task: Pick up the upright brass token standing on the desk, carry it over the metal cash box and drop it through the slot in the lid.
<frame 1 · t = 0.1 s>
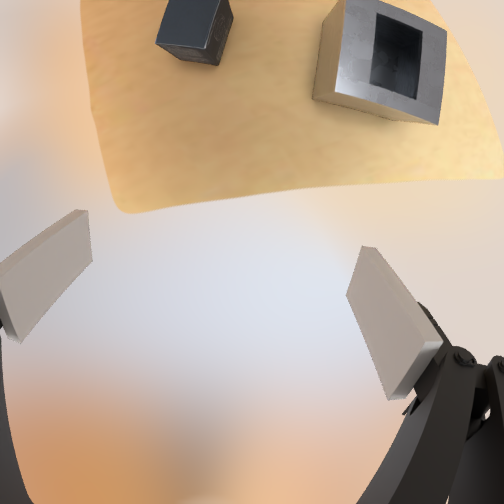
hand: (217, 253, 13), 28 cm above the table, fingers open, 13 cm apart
box: (206, 38, 31), on the table
cashbox: (360, 69, 32), on the table
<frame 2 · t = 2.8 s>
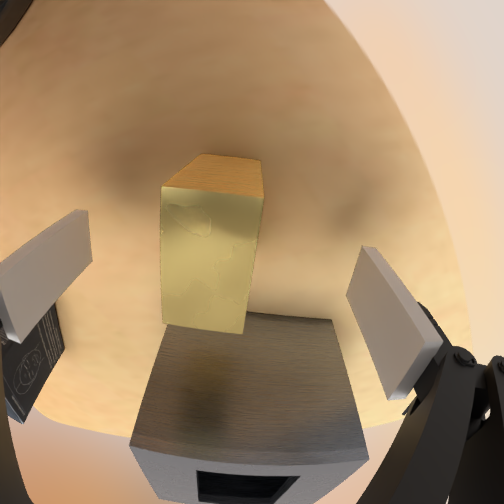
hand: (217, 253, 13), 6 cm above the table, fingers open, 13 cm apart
box: (39, 313, 23), on the table
cashbox: (245, 364, 24), on the table
token: (225, 204, 18), on the table
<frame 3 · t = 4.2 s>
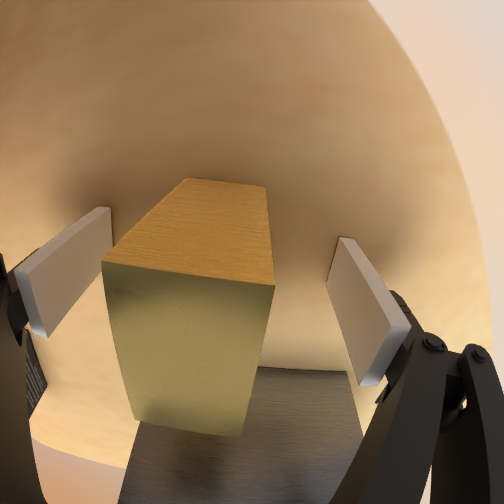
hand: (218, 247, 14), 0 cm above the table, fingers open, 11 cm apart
box: (18, 348, 19), on the table
cashbox: (245, 415, 20), on the table
token: (218, 243, 14), on the table
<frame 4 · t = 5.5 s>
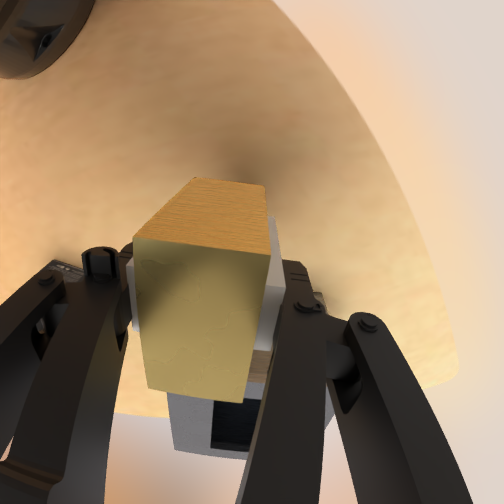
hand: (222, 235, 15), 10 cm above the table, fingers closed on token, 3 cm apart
box: (74, 292, 29), on the table
cashbox: (251, 333, 30), on the table
token: (222, 236, 16), point 10 cm above the table, touching gripper
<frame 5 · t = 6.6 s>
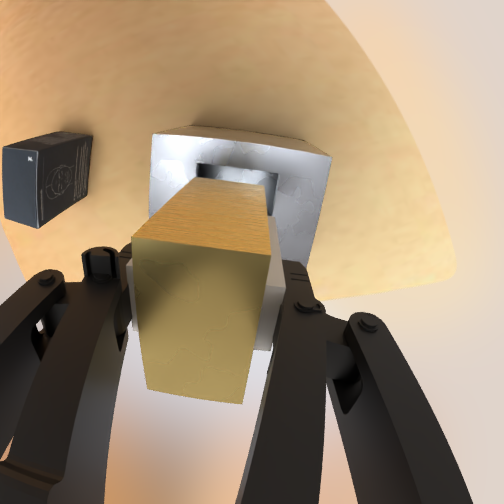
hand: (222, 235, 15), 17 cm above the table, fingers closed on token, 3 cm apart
box: (73, 163, 30), on the table
cashbox: (239, 185, 31), on the table
token: (222, 236, 16), point 17 cm above the table, touching gripper
when the fingers open (14 cm above the table, at t = 8.1 s): token drops 12 cm, resting on cashbox.
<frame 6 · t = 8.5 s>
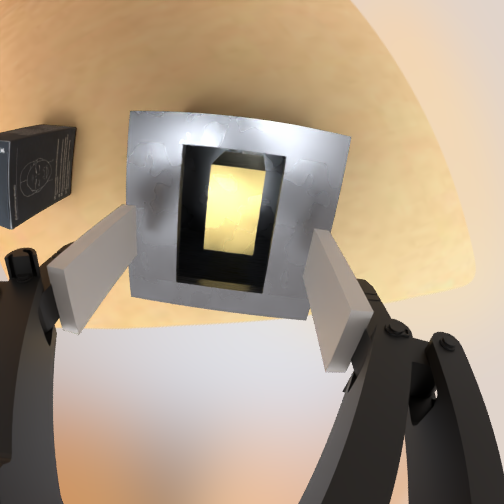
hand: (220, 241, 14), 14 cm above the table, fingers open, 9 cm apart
box: (56, 158, 26), on the table
cashbox: (238, 180, 27), on the table
token: (239, 185, 27), point 1 cm above the table, touching cashbox
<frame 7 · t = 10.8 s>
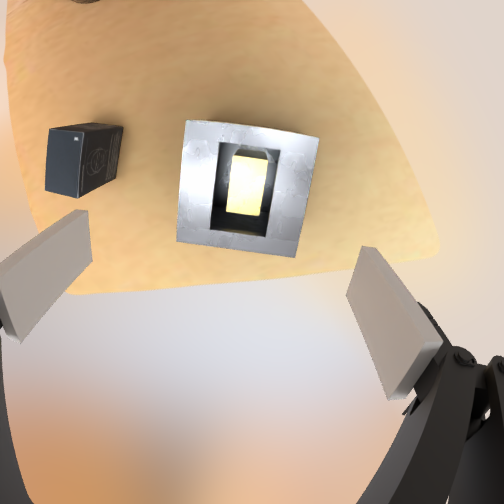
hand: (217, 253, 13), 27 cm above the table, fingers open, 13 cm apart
box: (104, 150, 36), on the table
cashbox: (247, 169, 38), on the table
token: (248, 173, 37), point 1 cm above the table, touching cashbox
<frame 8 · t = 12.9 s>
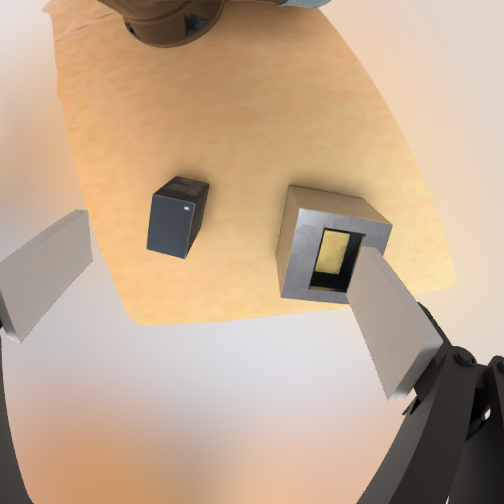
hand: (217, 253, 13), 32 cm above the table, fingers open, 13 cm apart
box: (187, 203, 45), on the table
cashbox: (319, 227, 46), on the table
token: (320, 230, 46), point 1 cm above the table, touching cashbox
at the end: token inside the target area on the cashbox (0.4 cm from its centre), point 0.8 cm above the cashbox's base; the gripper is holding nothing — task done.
